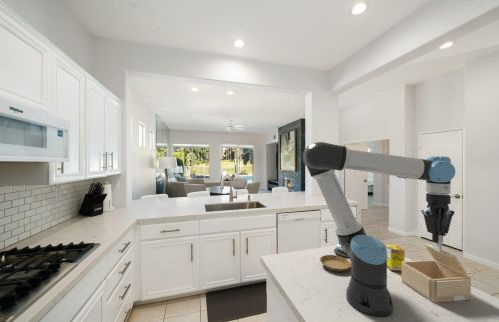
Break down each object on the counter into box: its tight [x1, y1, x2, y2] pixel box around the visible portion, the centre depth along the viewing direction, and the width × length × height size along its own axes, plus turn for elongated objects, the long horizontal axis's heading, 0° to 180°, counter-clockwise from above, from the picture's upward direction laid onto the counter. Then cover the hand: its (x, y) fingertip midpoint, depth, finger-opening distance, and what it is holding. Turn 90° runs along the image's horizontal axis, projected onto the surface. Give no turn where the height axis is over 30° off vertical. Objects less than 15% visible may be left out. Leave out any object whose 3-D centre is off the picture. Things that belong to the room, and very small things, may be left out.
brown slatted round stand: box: [333, 243, 348, 258], centre depth 120 cm, size 12×12×8 cm
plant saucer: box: [319, 254, 351, 273], centre depth 105 cm, size 15×15×3 cm
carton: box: [401, 259, 472, 304], centre depth 84 cm, size 16×16×9 cm
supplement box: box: [385, 244, 405, 273], centre depth 101 cm, size 6×6×11 cm
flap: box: [423, 242, 468, 276], centre depth 85 cm, size 9×12×1 cm
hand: (437, 250), depth 84 cm, fingers closed
